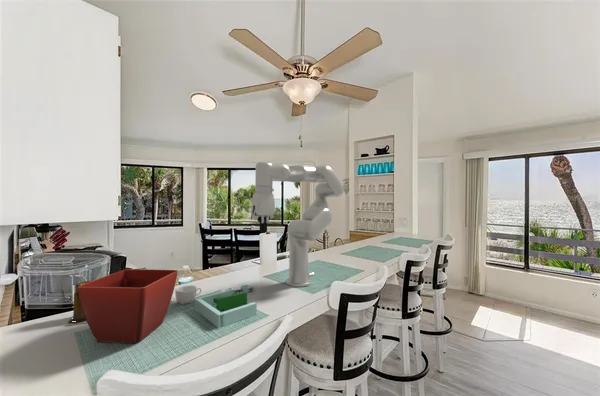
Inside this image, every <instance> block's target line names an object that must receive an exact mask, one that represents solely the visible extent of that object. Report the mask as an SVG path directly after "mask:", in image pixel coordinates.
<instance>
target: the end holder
mask: <svg viewBox="0 0 600 396" xmlns="http://www.w3.org/2000/svg"><path fill="white" fill-rule="evenodd" d="M230 295H231V290H226V289H225V290H222V291H217V292H213V293H211V294H207V295H203V296H199V297H195V298H194V300H193V301H194V302H193V303H194V305H193V306H194V307H193V310H195V311H196V312H197V313H199V314H200V315H201V316H203V317H204V318H205V319H206V320H208V321H209V323H212V324H213V325H214V326H216V327H217V328H218V329H220V328H222V327H225V326H228V325H229V326H230V325H231V324H234V323H236V322H239V321H242V320H244V319H248V318H250V317H254V316H257V302H250V303H248V304H247V305H243V306H240V307H237V308H234V309H231V310H227V311H224V312H220V311H218V310H217V308H215V307H214V306H216V303H214V302H213V298H216V297H224V296H230Z"/></svg>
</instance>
